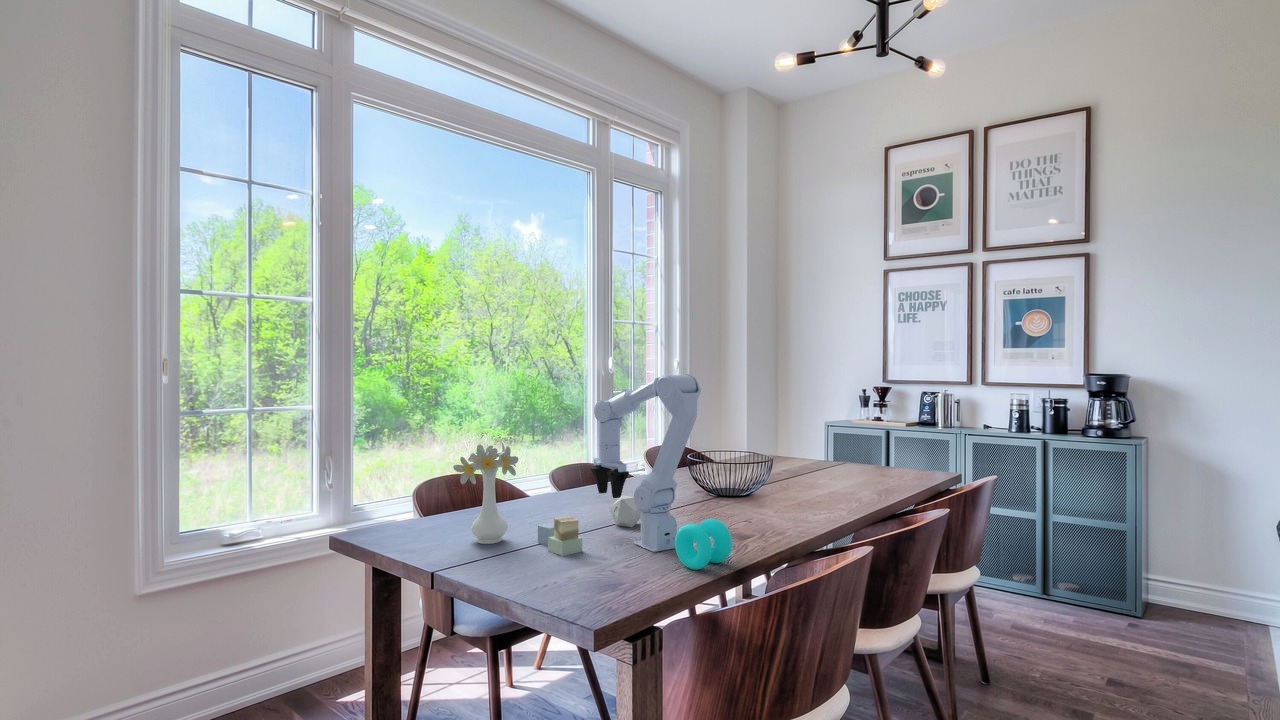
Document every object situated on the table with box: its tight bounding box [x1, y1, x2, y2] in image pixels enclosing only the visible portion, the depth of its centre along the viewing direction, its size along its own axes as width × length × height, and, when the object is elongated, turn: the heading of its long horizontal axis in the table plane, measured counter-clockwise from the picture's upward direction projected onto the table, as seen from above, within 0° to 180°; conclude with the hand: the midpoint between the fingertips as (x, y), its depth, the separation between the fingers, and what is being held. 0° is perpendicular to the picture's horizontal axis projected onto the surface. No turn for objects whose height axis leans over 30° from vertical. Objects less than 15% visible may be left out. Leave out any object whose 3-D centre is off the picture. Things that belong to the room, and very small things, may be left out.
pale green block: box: [547, 536, 583, 557], centre depth 163 cm, size 6×6×4 cm
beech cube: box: [553, 515, 579, 541], centre depth 163 cm, size 4×4×4 cm
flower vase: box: [452, 442, 519, 545], centre depth 172 cm, size 13×18×25 cm
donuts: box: [674, 518, 733, 571], centre depth 151 cm, size 10×10×10 cm
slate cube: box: [537, 522, 554, 547], centre depth 171 cm, size 4×4×4 cm
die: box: [609, 495, 641, 528], centre depth 189 cm, size 8×9×10 cm
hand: (609, 495), depth 179 cm, fingers open, 7 cm apart
